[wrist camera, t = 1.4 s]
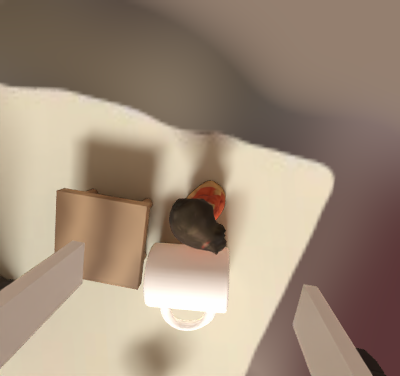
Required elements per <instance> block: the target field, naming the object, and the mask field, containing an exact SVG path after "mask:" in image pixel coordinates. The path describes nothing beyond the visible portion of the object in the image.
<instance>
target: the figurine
mask: <svg viewBox="0 0 400 376" xmlns="http://www.w3.org/2000/svg"><path fill="white" fill-rule="evenodd" d="M225 198H226V195H225V193H224V191H223V189H222V187H221V186H220V185H219V184H217V183H216V182H214V181H211V180H209V181H206V182H204V183H203V184H201V185H200V186H199V187H197V188H196V189H195V190H194V191H193V192H192V193H191V194H190V195H189V196H188V197H187V198H185V199H178V200H177V201H176V202H175V203H174V205H173V206H172V209H171V212H170V217H169V222H170V227H171V230H172V233H173V234H174V236H175V237H176V238H177V239H178V240H179V241H180V242H182V243H183V244H185V245H187V246H190V247H192V248H195V249H199V250H205V251H210V252H213V253H214V254H215V255H217V254H218V252H220V251H222V250H223V249H224V248H225V246H226V240H225V239H224V237H225V234H224V233H225V231H226V230H225V228H224V227H223V225H221V224H218V223H217V222H216V220H217V218H218V217H219V216H220V214H221V213H222V211H223V209H224V206H225V201H226V200H225Z"/></svg>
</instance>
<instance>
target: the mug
mask: <svg viewBox="0 0 400 376" xmlns="http://www.w3.org/2000/svg"><path fill="white" fill-rule="evenodd" d="M143 292H144V301H145V303H146V305H147V306H150V307H160V311H161V314H162V316H163V318H164V320H165V321H166V322H167V323H168V324H169V325H171V326H172V327H174V328H176V329H179V330H184V331H189V330H195V329H198V328H201V327H203V326H205V325H207V324H208V323H210V322H211V321H212V319H213V318H214V317H215V314H216V313H226V311H227V305H228V292H229V249H228V248H227V247H225V248H224V249H223V250H222V251H220V252H218V254H217V255H215V254H214V253H213V252H210V251H205V250H199V249H195V248H192V247H190V246H187V245H185V244H171V243H155V244H154V245H153V246H152V248H151V250H150V252H149V255H148V259H147V263H146V268H145V274H144V287H143ZM171 308H172V309H183V310H194V311H205V313H204V315H203V316H202V317H201V318H200V319H198V320H180V319H177V318H175V317H174V315H173V313H172V310H171Z"/></svg>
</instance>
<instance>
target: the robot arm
mask: <svg viewBox="0 0 400 376" xmlns="http://www.w3.org/2000/svg"><path fill="white" fill-rule="evenodd" d="M84 247H85V243H83V242H78V241H71V242H70V243H68V244H67V245H65V246H64V247H63V248H61V249H60V250H58V251H57V252H55V253H54V254H52V255H51V256H50V257H48V258H47V259H45V260H44V261H42V262H41V263H39V264H38V265H37V266H35V267H34V268H32V269H31V270H29V271H28V272H26V273H25V274H24V275H22V276H21V277H19V278H18V279H16V280H12V279H9V280H6V279H4V278H3V277H1V276H0V369H1V367H2V366H3V365H4V364H5V363H6V362H7V361H8V360H9V359H10V358H11V357H12V356H13V355H14V354H15V353H16V352H17V351H18V350H19V349H20V348H21V347H22V346H23V345H24V343H25V342H26V341H27V340H28V339H29V338H30V337H31V336H32V335H33V334H34V333H35V332H36V331H37V330H38V329H39V328H40V327H41V326H42V325H43V324H44V323H45V322H46V321H47V319H48V318H49V317H50V316H51V315H52V314H53V313H54V312H55V311H56V310H57V309H58V308H59V307H60V306H61V305H62V304H63V303H64V302H65V301H66V300H67V299H68V298H69V297H70V295H71V294H72V293H73V292H74V291H75V290H76V289H77V288H78V287H79V286H80V285H81V284H82V280H83V263H84ZM293 328H294V330H295V333H296V336H297V338H298V341H299V344H300V346H301V349H302V352H303V354H304V357H305V360H306V363H307V365H308V368H309V371H310V373H311V376H386V375H384V372H383V370H382V369H381V367H380V366H379V364H378V363H377V361H376V360H375V359H374V358H373V357H372V356H371V355H369V354H368V353H367V352H366V351H365V350H364V349H359V348H355V347H354V345H353V343H352V342H351V340H350V339H349V337H348V335H347V334H346V332H345V331H344V329H343V328H342V326H341V324H340V323H339V321H338V319H337V318H336V316H335V315H334V313H333V312H332V310H331V308H330V307H329V305H328V303H327V302H326V300H325V299H324V297H323V295H322V294H321V293H320V291H319V289H318V287H315V286H310V285H303V289H302V292H301V296H300V300H299V303H298V307H297V311H296V314H295V318H294V321H293Z"/></svg>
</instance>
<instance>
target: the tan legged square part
mask: <svg viewBox="0 0 400 376" xmlns="http://www.w3.org/2000/svg"><path fill="white" fill-rule="evenodd" d="M152 205H153V202H152V200H151V199H148V198H147V199H145V200H143V201H142V202H141V201H135V200H129V199H124V198H118V197H112V196H106V195H101V194H98V192H97V191H96V190H95V189H91V190H88V191H86V192H84V191H78V190H72V189H66V188H63V189H60V190H57V197H56V226H55V252H57V251H58V250H60V249H61V248H63V247H64V246H65V245H67V244H68V243H70V242H71V241H78V242H83V243H85V247H84V263H83V279H85V280H90V281H95V282H101V283H106V284H111V285H116V286H121V287H127V288H132V289H137V290H138V288H139V286H140V284H141V280H142V272H143V263H144V259H145V258H146V252H145V246H146V238H147V229H148V221H149V212H150V208H151V207H152Z"/></svg>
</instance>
